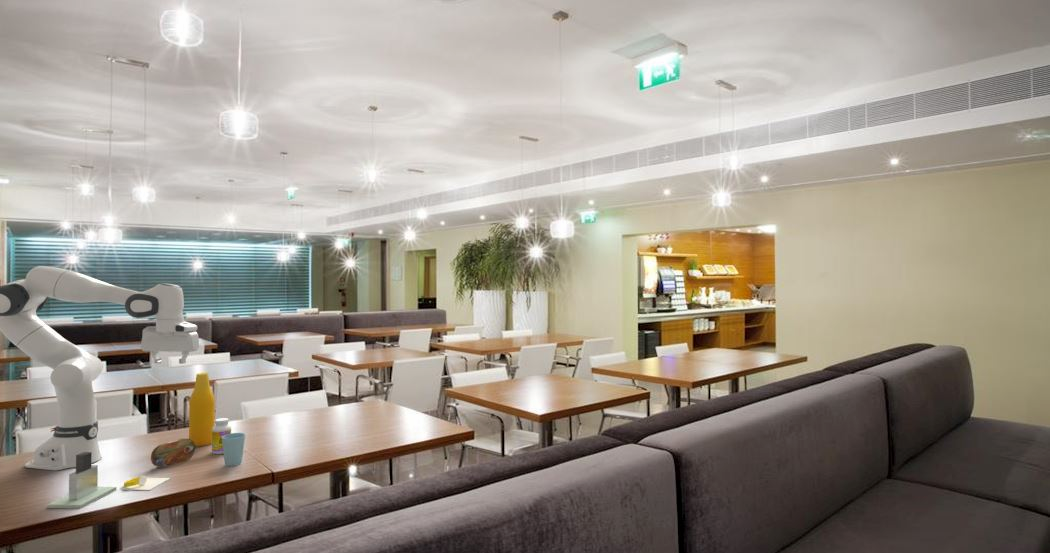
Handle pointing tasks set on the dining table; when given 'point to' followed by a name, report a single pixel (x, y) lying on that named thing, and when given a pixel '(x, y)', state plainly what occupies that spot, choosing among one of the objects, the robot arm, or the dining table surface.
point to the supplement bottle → (219, 434)
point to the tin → (172, 453)
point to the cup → (233, 448)
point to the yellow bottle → (201, 411)
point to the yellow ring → (135, 481)
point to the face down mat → (148, 484)
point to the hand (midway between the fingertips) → (170, 363)
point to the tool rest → (83, 501)
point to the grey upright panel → (83, 477)
